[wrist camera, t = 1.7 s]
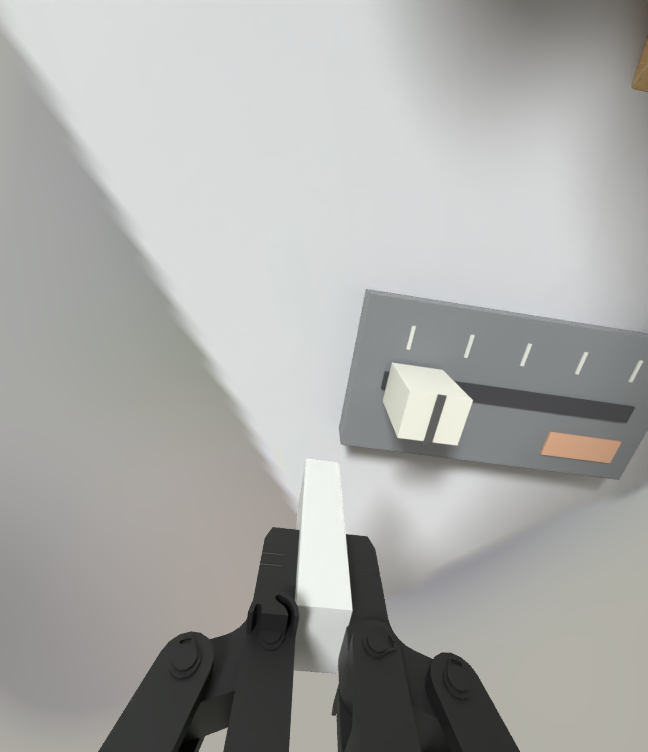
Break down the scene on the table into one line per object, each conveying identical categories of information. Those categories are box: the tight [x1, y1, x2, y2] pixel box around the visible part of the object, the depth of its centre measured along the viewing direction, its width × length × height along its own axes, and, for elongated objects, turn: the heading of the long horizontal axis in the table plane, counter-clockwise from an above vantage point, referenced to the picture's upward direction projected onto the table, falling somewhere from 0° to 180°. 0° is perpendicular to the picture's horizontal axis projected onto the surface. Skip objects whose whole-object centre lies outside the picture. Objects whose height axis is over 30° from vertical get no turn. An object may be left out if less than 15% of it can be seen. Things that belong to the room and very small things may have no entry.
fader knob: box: [383, 363, 473, 445], centre depth 26 cm, size 4×4×6 cm
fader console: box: [339, 289, 648, 480], centre depth 31 cm, size 14×28×3 cm, turn 81°
